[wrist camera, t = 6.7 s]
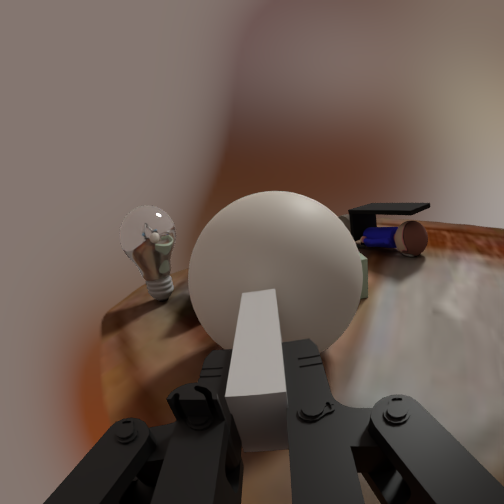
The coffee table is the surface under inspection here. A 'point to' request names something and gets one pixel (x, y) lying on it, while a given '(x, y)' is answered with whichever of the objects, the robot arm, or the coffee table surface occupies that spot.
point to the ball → (277, 267)
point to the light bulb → (150, 247)
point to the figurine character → (403, 237)
